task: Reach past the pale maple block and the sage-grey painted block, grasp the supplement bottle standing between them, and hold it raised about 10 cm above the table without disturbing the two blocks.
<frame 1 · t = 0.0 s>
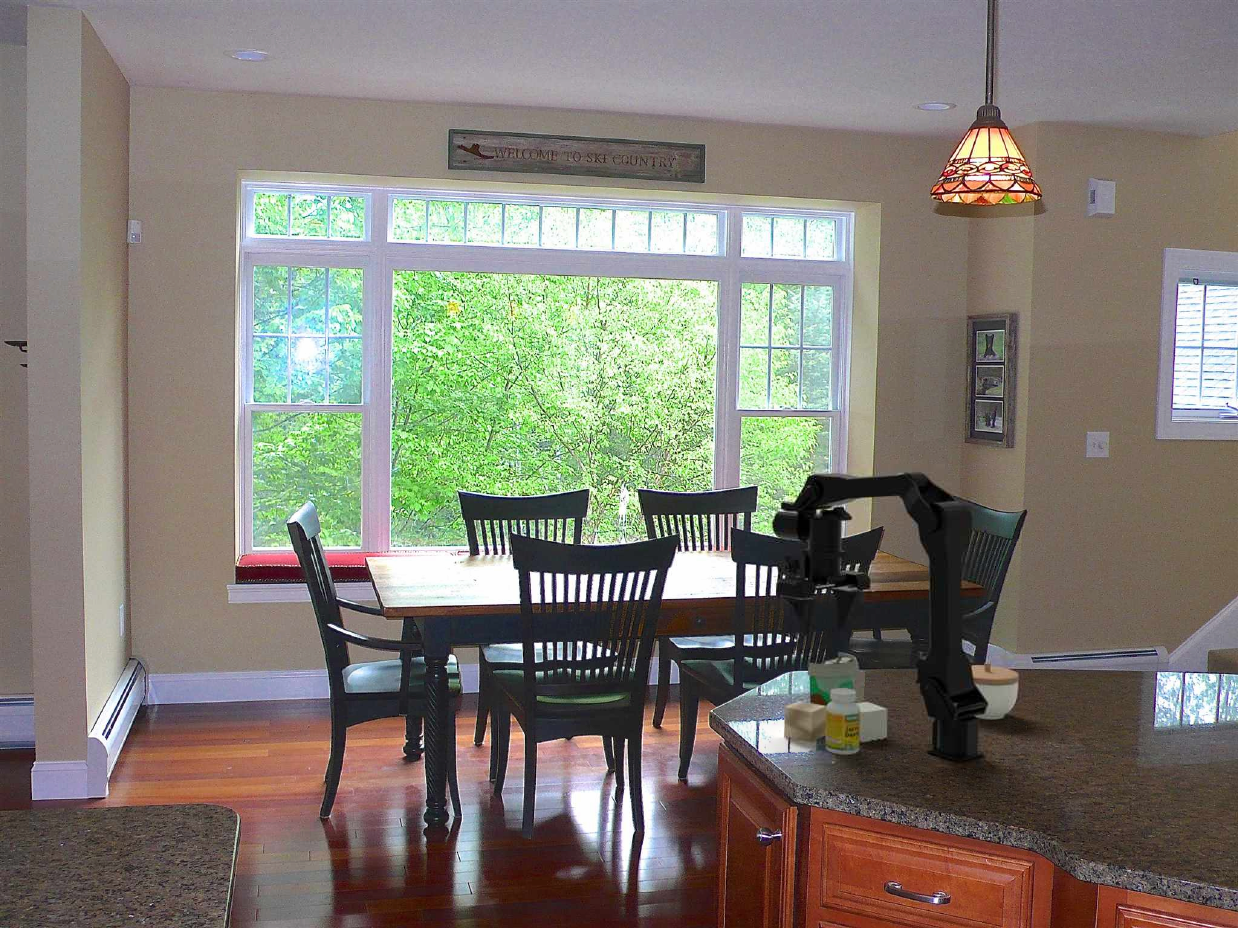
hand: (822, 632, 206), 15 cm above the worktop, fingers open, 9 cm apart
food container: (838, 716, 206), on the worktop
maple block: (804, 736, 194), on the worktop
lidded jar: (986, 715, 208), on the worktop
grey painted block: (864, 736, 194), on the worktop
supplement bottle: (842, 751, 186), on the worktop
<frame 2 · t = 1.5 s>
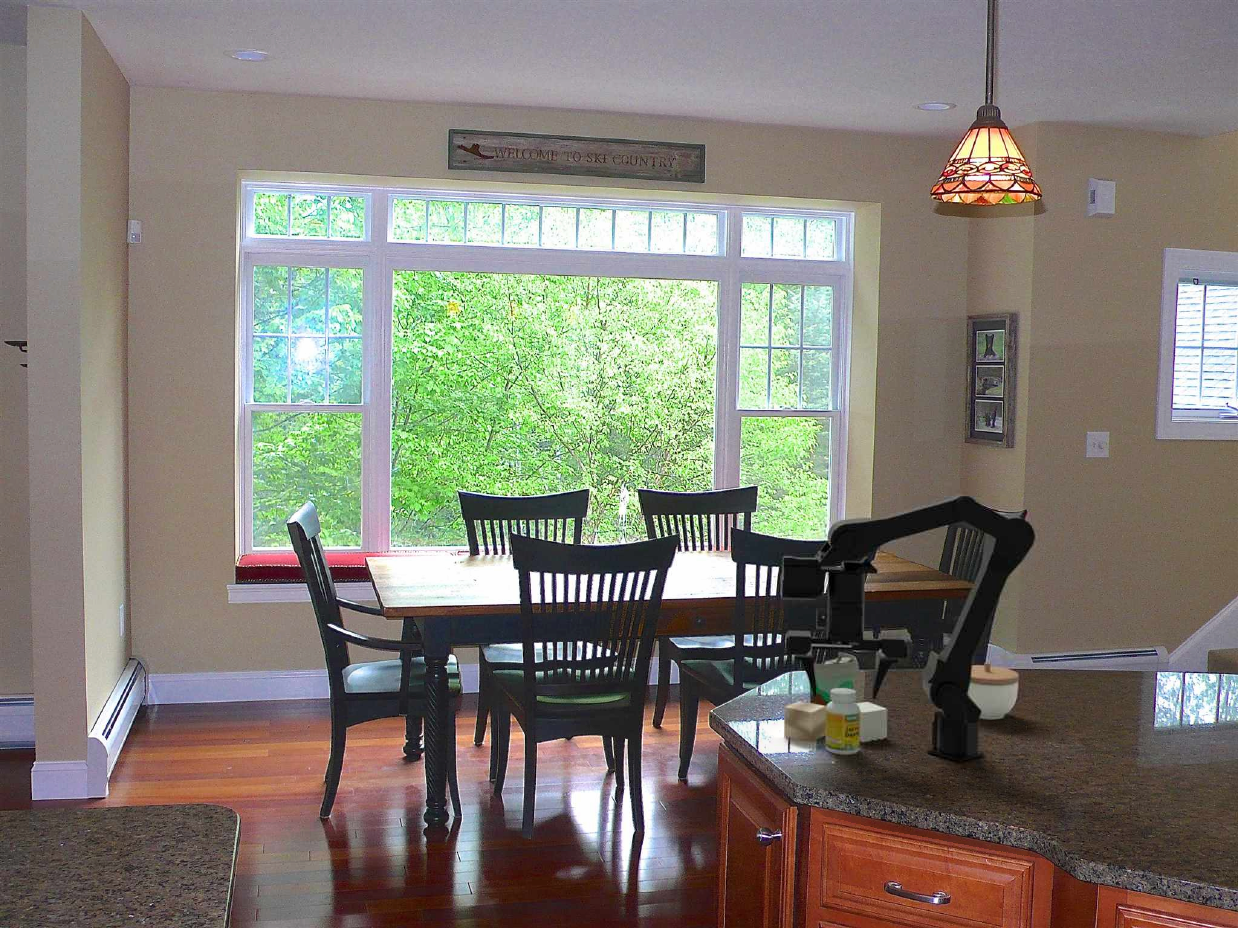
hand: (844, 697, 185), 8 cm above the worktop, fingers open, 9 cm apart
nothing on the worktop moved.
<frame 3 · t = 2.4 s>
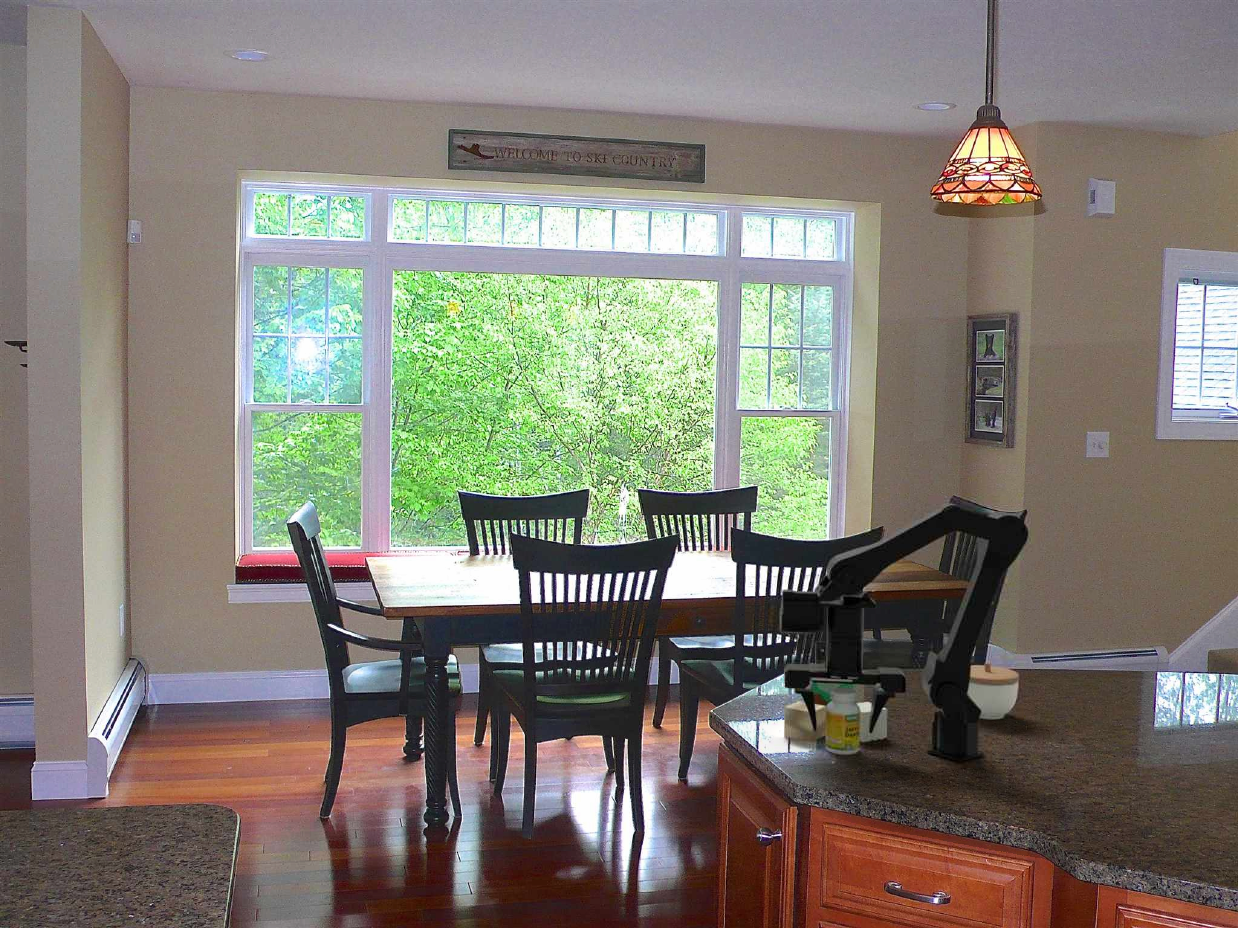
hand: (842, 731, 186), 3 cm above the worktop, fingers open, 8 cm apart
nothing on the worktop moved.
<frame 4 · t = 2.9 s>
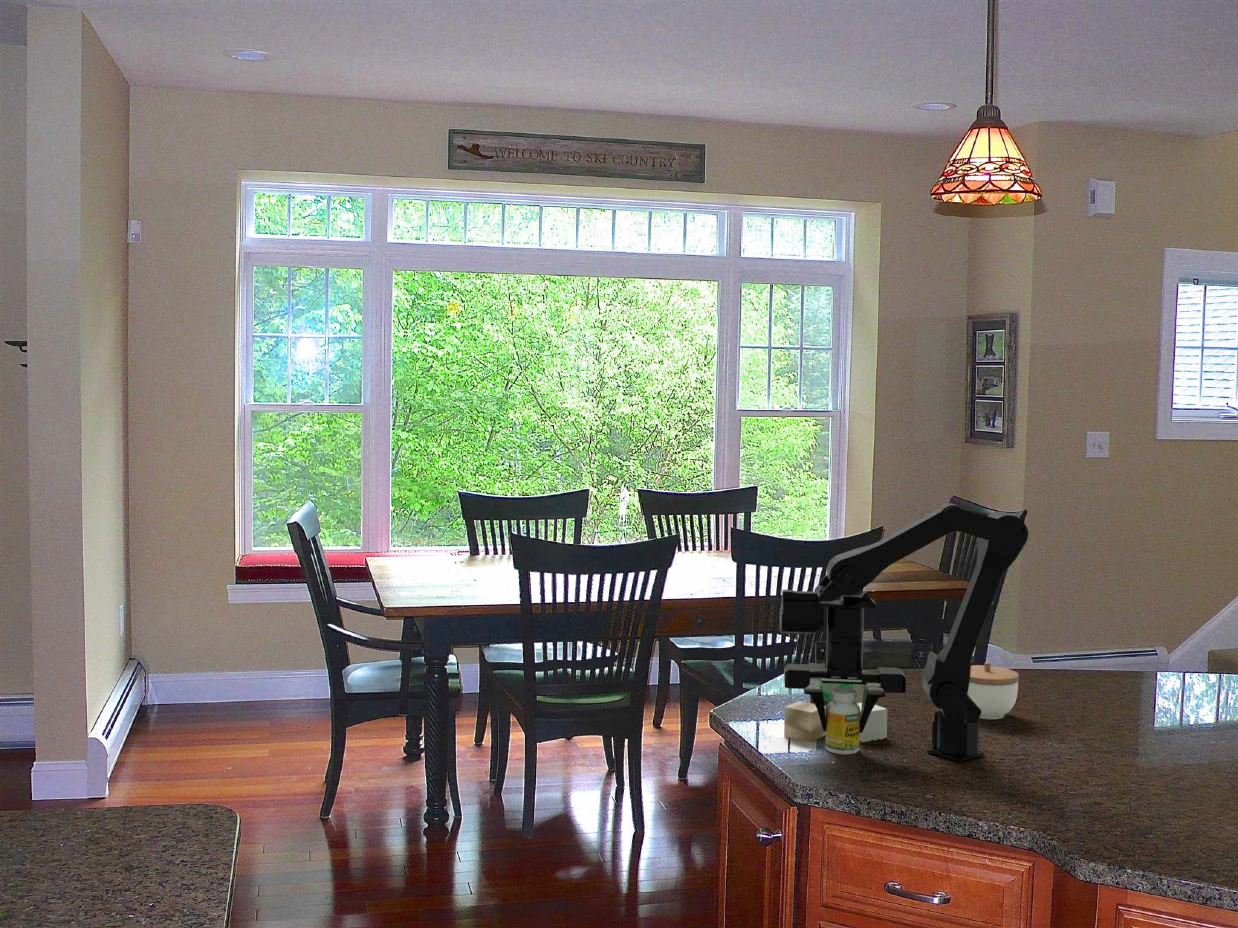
hand: (842, 731, 186), 3 cm above the worktop, fingers closed on supplement bottle, 5 cm apart
supplement bottle: (842, 751, 186), on the worktop, touching gripper
everything else where it was.
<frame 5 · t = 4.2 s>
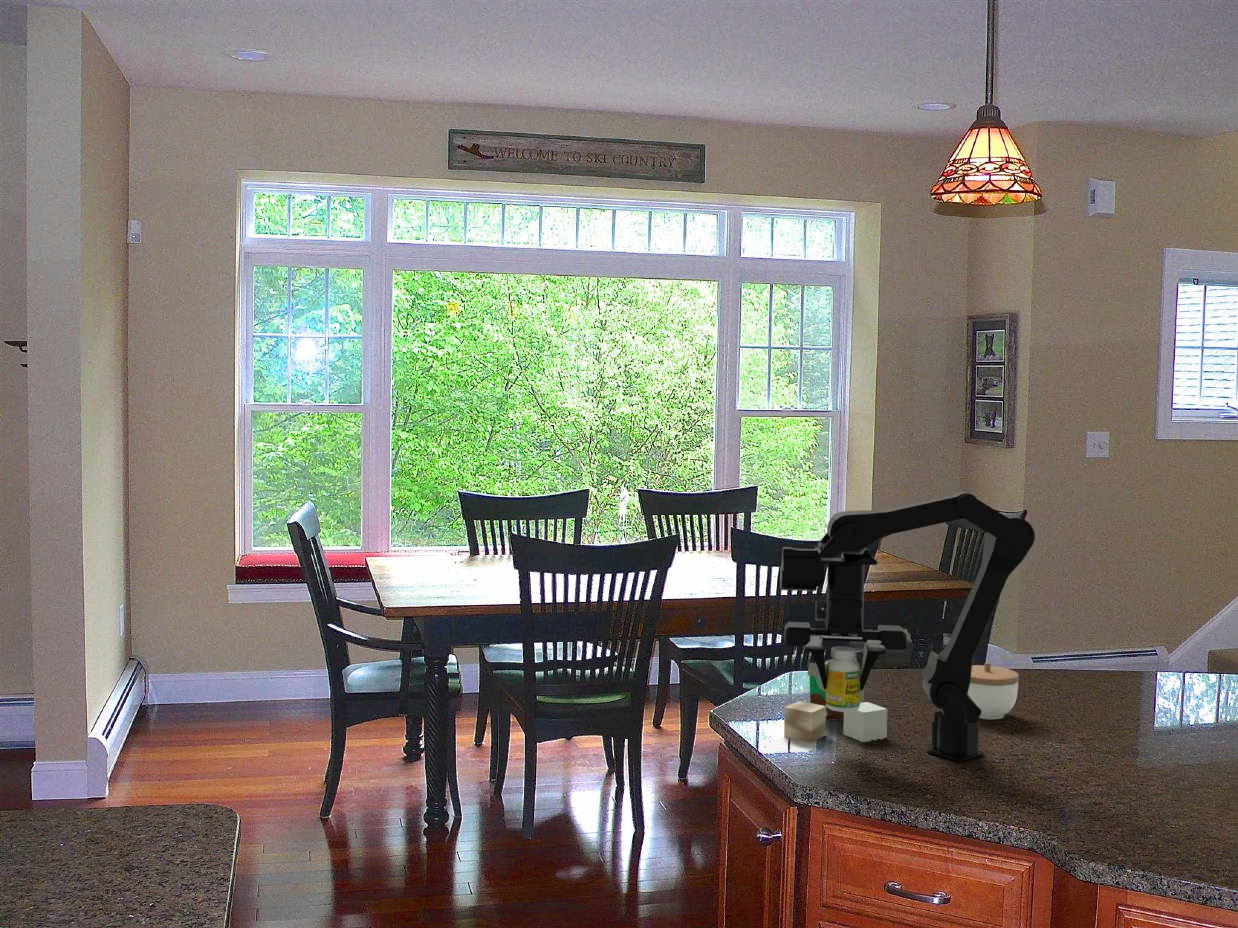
hand: (843, 689, 185), 10 cm above the worktop, fingers closed on supplement bottle, 5 cm apart
supplement bottle: (842, 709, 185), point 7 cm above the worktop, touching gripper
everything else where it was.
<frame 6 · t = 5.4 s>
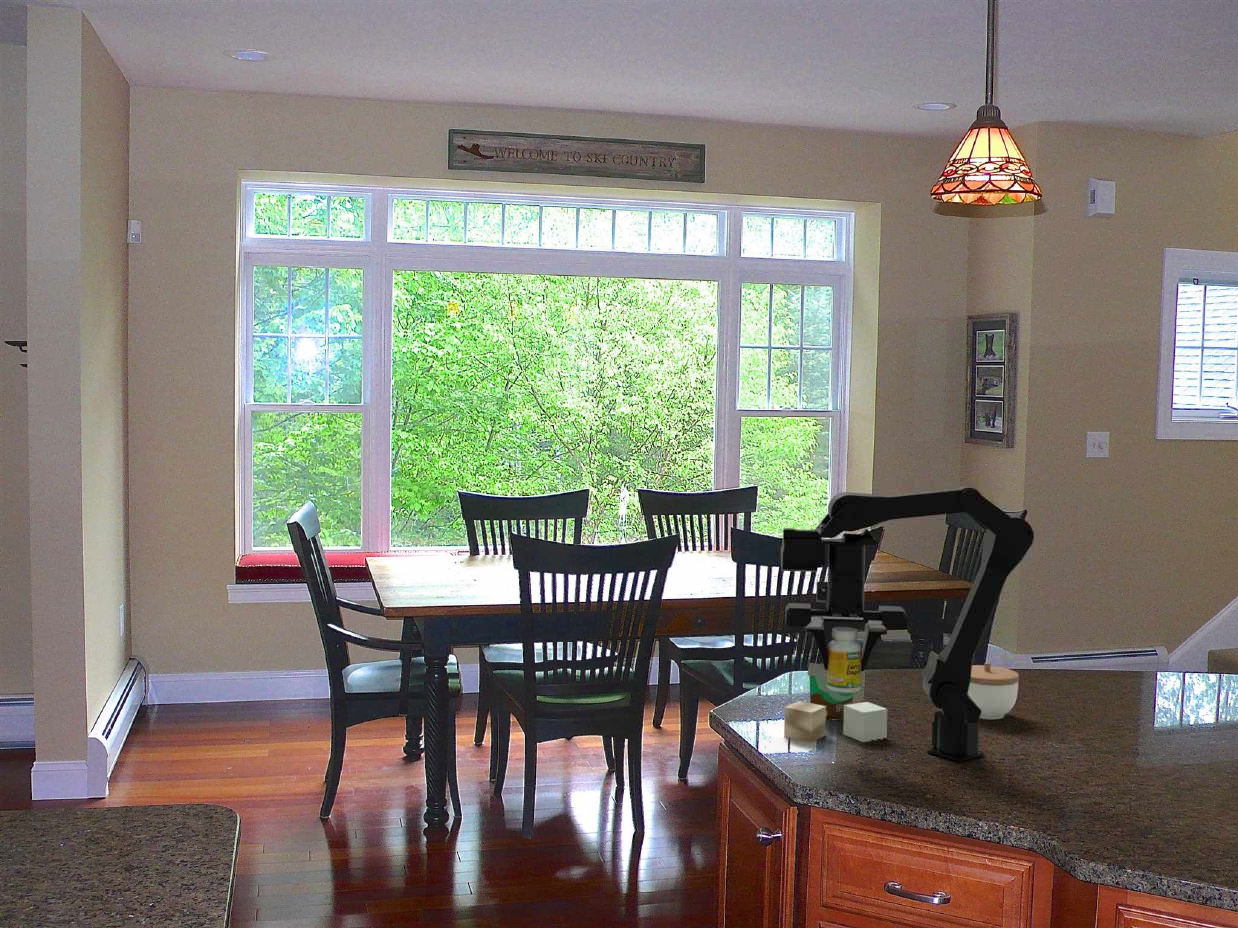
hand: (844, 669, 185), 13 cm above the worktop, fingers closed on supplement bottle, 5 cm apart
supplement bottle: (843, 690, 185), point 10 cm above the worktop, touching gripper
everything else where it was.
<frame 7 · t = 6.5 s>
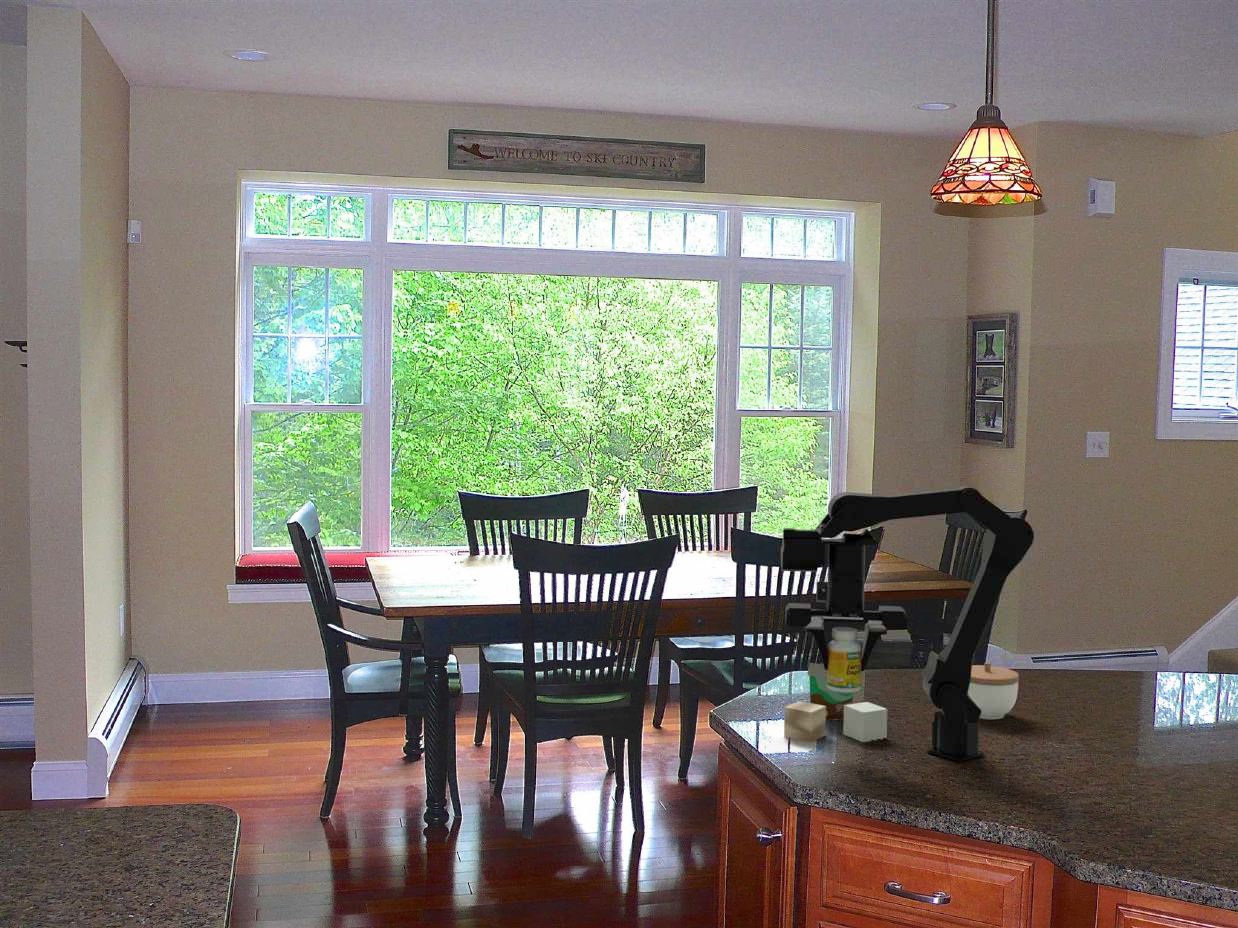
hand: (844, 669, 185), 13 cm above the worktop, fingers closed on supplement bottle, 5 cm apart
supplement bottle: (843, 690, 185), point 10 cm above the worktop, touching gripper
everything else where it was.
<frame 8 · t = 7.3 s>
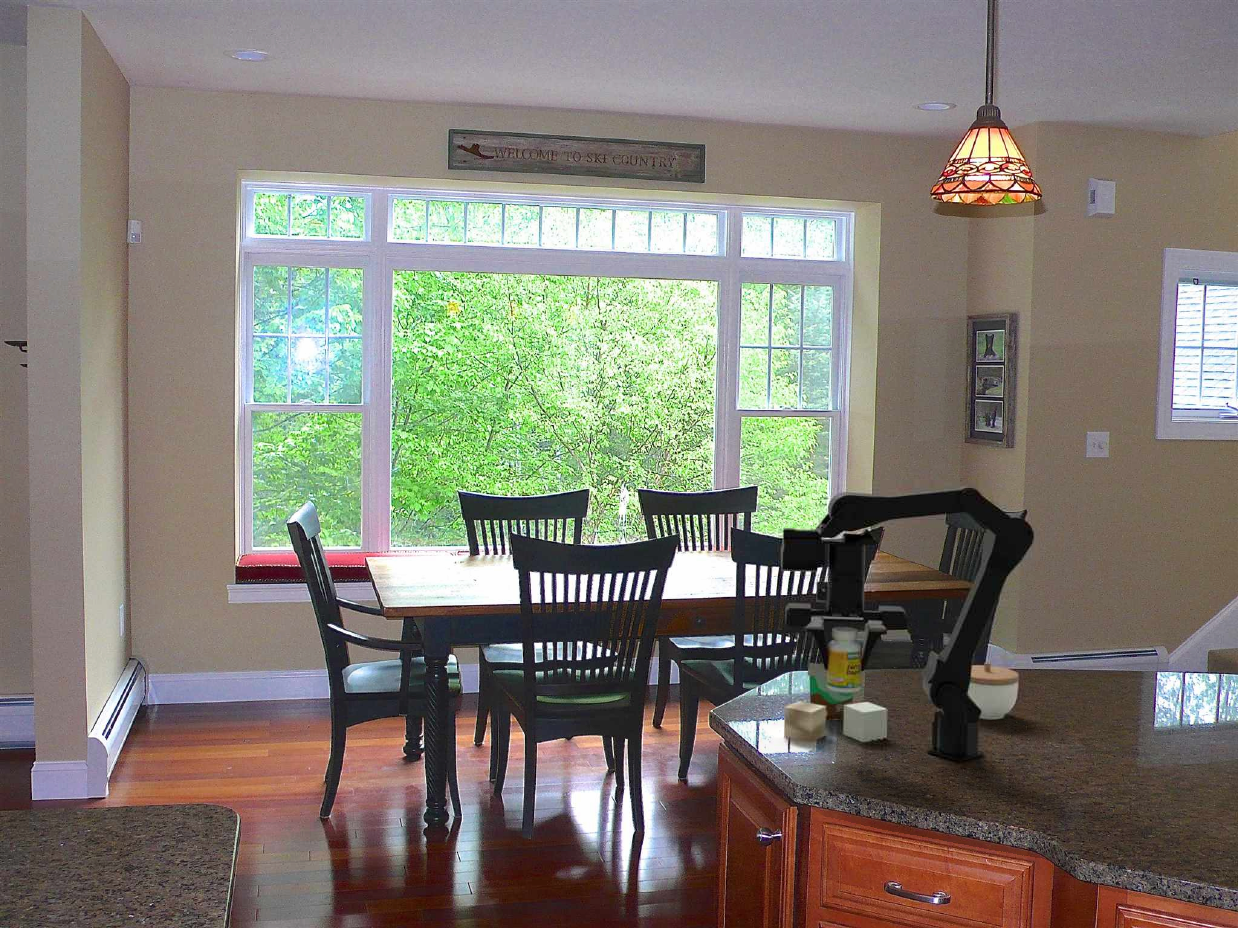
hand: (844, 669, 185), 13 cm above the worktop, fingers closed on supplement bottle, 5 cm apart
supplement bottle: (843, 690, 185), point 10 cm above the worktop, touching gripper
everything else where it was.
at the end: supplement bottle point 9.7 cm above the worktop; maple block moved 0.1 cm from its start; grey painted block moved 0.1 cm from its start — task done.
